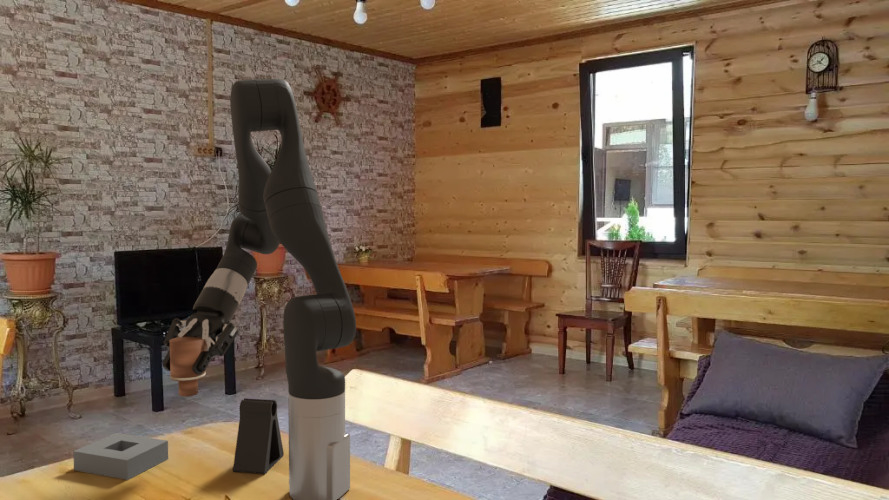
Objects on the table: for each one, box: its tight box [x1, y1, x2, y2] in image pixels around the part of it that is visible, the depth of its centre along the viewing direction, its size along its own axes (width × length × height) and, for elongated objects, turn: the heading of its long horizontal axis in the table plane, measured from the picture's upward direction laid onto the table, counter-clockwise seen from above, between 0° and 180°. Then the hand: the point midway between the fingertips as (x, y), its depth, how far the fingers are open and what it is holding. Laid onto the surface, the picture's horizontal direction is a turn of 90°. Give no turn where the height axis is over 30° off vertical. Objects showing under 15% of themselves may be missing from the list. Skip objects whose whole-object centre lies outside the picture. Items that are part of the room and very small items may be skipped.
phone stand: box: [232, 397, 285, 475], centre depth 126 cm, size 9×6×12 cm, turn 171°
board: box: [73, 432, 169, 481], centre depth 126 cm, size 12×10×4 cm
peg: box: [169, 335, 207, 398], centre depth 127 cm, size 6×6×10 cm
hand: (181, 370), depth 126 cm, fingers closed on peg, 6 cm apart
